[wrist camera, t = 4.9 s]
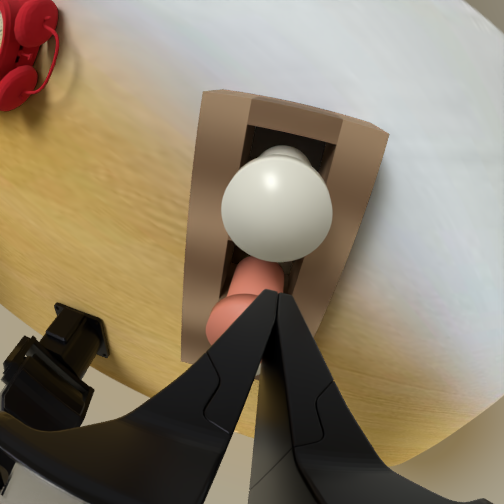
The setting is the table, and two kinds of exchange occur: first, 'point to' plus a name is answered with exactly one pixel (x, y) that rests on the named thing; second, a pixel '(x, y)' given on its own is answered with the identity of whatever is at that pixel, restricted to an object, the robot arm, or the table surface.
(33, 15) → the alarm clock
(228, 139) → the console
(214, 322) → the red plug
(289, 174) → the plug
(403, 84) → the table surface
